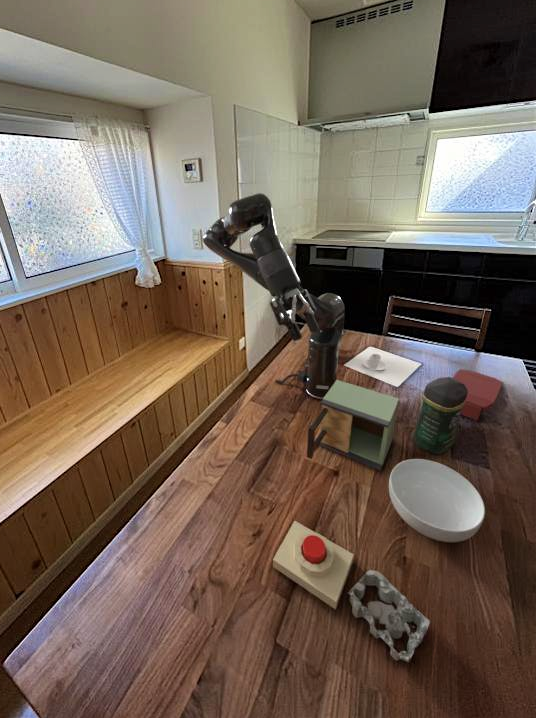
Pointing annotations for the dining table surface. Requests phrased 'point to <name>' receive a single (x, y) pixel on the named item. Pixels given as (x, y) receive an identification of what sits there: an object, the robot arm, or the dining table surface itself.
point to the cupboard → (364, 421)
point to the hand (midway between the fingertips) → (307, 335)
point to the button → (314, 549)
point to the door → (330, 430)
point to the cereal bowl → (436, 500)
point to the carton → (478, 392)
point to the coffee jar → (440, 414)
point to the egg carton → (389, 613)
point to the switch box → (314, 565)
